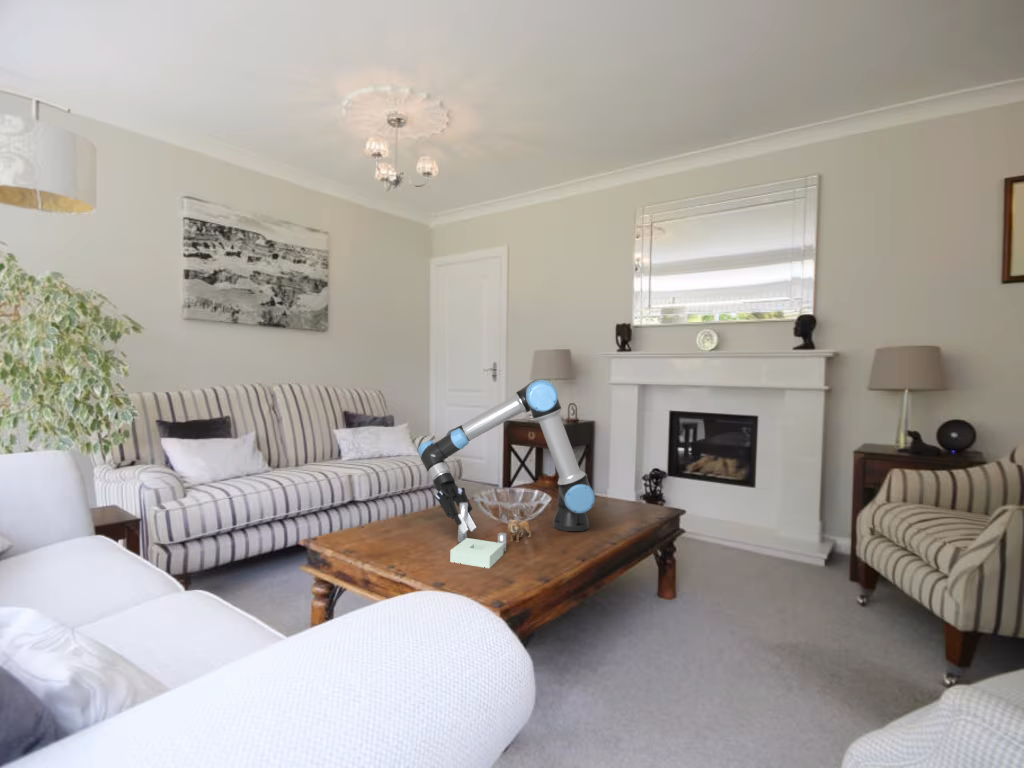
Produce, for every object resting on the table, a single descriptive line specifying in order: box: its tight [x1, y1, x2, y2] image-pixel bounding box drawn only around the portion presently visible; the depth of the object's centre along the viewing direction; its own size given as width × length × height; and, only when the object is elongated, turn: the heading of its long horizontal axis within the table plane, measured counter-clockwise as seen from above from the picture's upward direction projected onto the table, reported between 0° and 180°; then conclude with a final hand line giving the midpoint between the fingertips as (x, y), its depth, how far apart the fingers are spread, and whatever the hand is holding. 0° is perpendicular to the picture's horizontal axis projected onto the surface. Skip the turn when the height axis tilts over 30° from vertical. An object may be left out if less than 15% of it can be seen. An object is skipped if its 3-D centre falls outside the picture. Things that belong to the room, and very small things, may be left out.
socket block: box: [449, 537, 504, 569], centre depth 182 cm, size 14×14×4 cm
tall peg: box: [457, 502, 468, 543], centre depth 194 cm, size 3×3×14 cm
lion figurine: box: [507, 519, 532, 543], centre depth 204 cm, size 15×5×9 cm, turn 152°
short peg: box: [497, 532, 508, 553], centre depth 191 cm, size 3×3×6 cm
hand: (469, 530), depth 192 cm, fingers closed on tall peg, 3 cm apart
